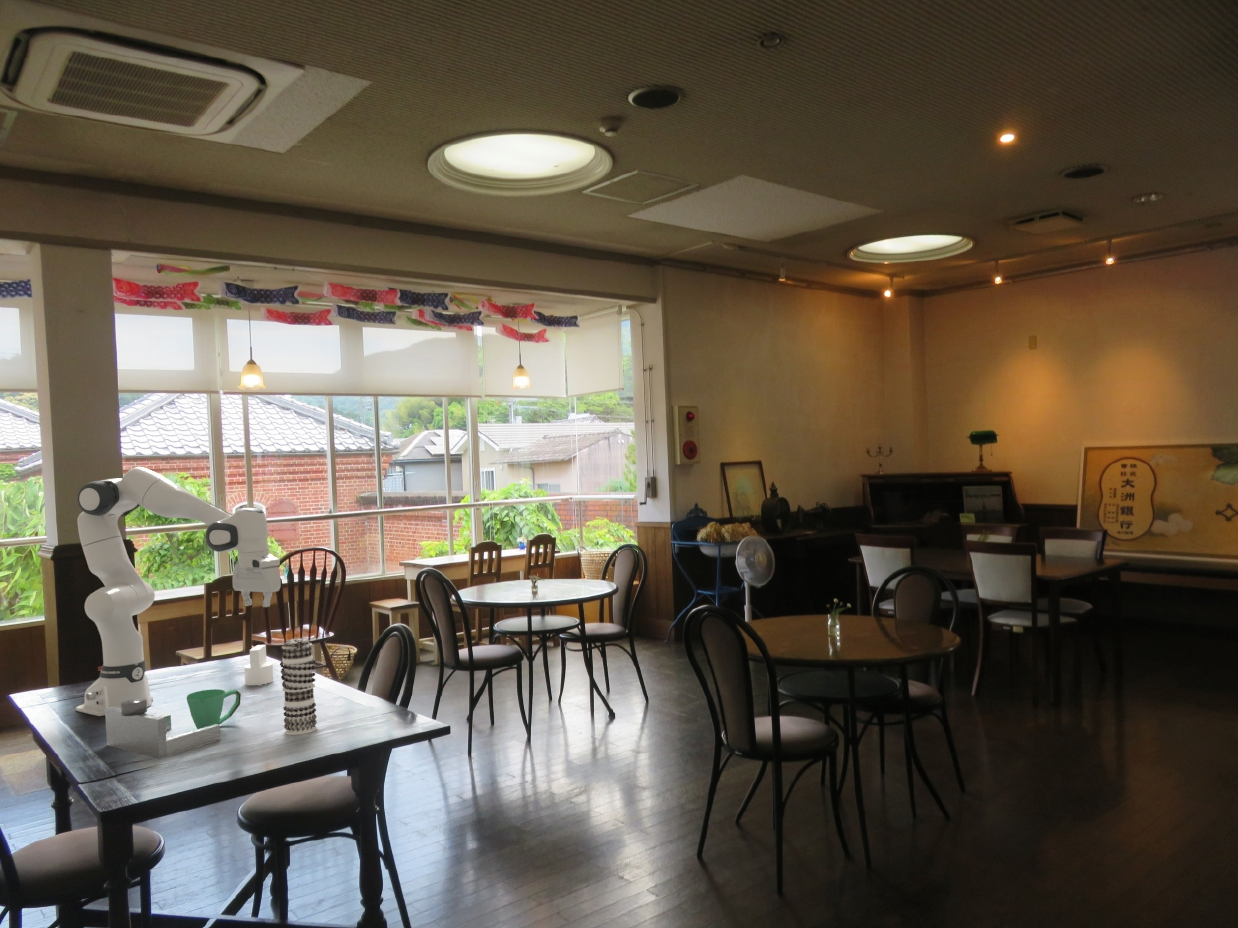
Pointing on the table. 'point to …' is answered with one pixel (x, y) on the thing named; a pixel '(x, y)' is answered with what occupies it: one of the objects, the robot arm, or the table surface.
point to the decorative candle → (298, 687)
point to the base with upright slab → (258, 667)
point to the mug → (210, 706)
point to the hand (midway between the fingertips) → (257, 606)
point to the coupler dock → (150, 731)
